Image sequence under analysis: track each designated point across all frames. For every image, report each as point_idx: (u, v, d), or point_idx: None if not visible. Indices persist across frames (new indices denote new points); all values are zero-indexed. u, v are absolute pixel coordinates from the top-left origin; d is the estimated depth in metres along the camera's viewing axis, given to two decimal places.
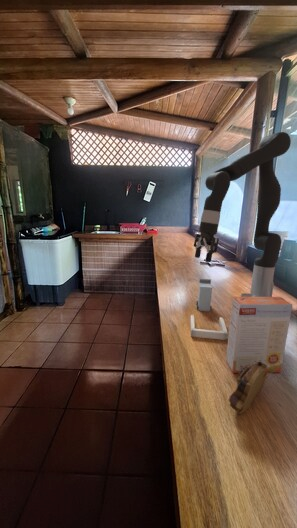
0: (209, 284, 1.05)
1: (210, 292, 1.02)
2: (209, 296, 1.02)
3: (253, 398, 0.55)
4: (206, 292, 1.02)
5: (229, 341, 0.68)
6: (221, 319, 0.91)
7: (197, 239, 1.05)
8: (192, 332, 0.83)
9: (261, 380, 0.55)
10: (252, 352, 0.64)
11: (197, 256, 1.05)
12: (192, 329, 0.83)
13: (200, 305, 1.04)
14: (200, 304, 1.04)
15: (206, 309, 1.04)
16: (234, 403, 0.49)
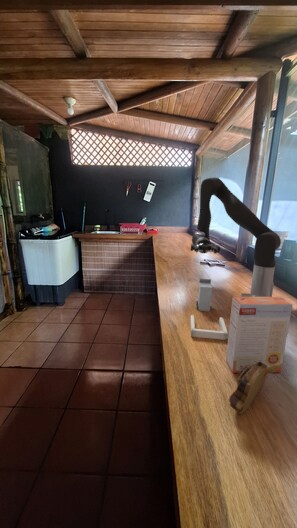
0: (209, 284, 1.05)
1: (210, 292, 1.02)
2: (209, 296, 1.02)
3: (253, 398, 0.55)
4: (206, 292, 1.02)
5: (229, 341, 0.68)
6: (221, 319, 0.91)
7: None
8: (192, 332, 0.83)
9: (261, 380, 0.55)
10: (252, 352, 0.64)
11: (214, 251, 1.12)
12: (192, 329, 0.83)
13: (200, 305, 1.04)
14: (200, 304, 1.04)
15: (206, 309, 1.04)
16: (234, 403, 0.49)
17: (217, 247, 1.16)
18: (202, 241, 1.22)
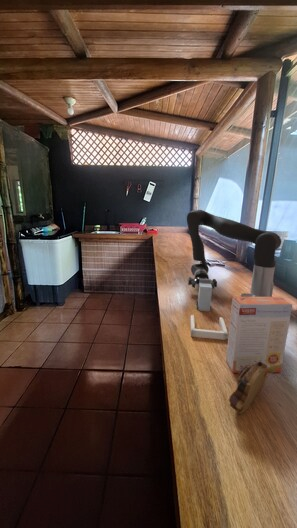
0: (209, 284, 1.05)
1: (210, 292, 1.02)
2: (209, 296, 1.02)
3: (253, 398, 0.55)
4: (206, 292, 1.02)
5: (229, 341, 0.68)
6: (221, 319, 0.91)
7: None
8: (192, 332, 0.83)
9: (261, 380, 0.55)
10: (252, 352, 0.64)
11: None
12: (192, 329, 0.83)
13: (200, 305, 1.04)
14: (200, 304, 1.04)
15: (206, 309, 1.04)
16: (234, 403, 0.49)
17: (214, 282, 1.19)
18: (200, 274, 1.25)
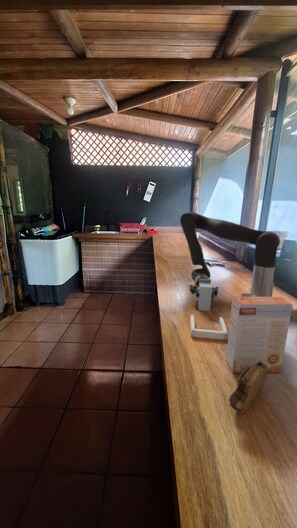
0: (209, 284, 1.05)
1: (210, 292, 1.02)
2: (209, 296, 1.02)
3: (253, 398, 0.55)
4: (206, 292, 1.02)
5: (229, 341, 0.68)
6: (221, 319, 0.91)
7: None
8: (192, 332, 0.83)
9: (261, 380, 0.55)
10: (252, 352, 0.64)
11: None
12: (192, 329, 0.83)
13: (200, 305, 1.04)
14: (200, 304, 1.04)
15: (206, 309, 1.04)
16: (234, 403, 0.49)
17: (214, 290, 1.08)
18: None
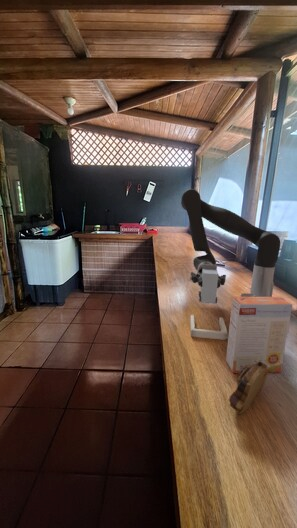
0: (215, 270, 0.85)
1: (216, 280, 0.82)
2: (214, 285, 0.82)
3: (253, 398, 0.55)
4: (211, 280, 0.82)
5: (229, 341, 0.68)
6: (221, 319, 0.91)
7: None
8: (192, 332, 0.83)
9: (261, 380, 0.55)
10: (252, 352, 0.64)
11: None
12: (192, 329, 0.83)
13: (203, 296, 0.84)
14: (203, 295, 0.84)
15: (211, 301, 0.84)
16: (234, 403, 0.49)
17: (221, 278, 0.88)
18: None
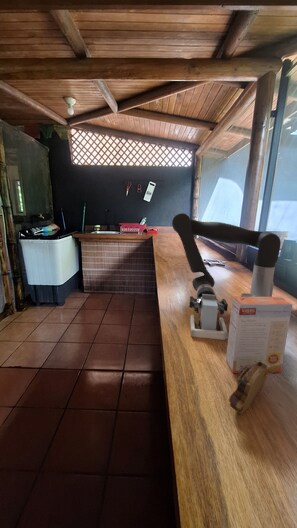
0: (214, 301, 0.86)
1: (215, 312, 0.83)
2: (214, 316, 0.83)
3: (253, 398, 0.55)
4: (211, 312, 0.83)
5: (229, 341, 0.68)
6: (221, 319, 0.91)
7: None
8: (192, 332, 0.83)
9: (261, 380, 0.55)
10: (252, 352, 0.64)
11: (220, 312, 0.85)
12: (192, 329, 0.83)
13: (203, 327, 0.85)
14: (203, 326, 0.85)
15: None
16: (234, 403, 0.49)
17: (224, 304, 0.89)
18: (204, 293, 0.95)
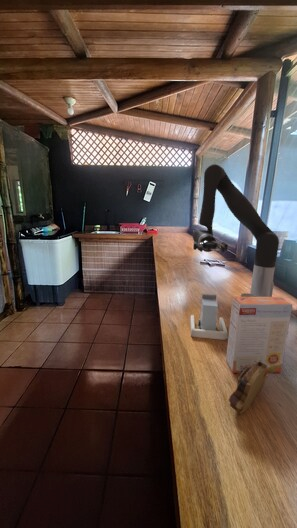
0: (214, 301, 0.86)
1: (215, 312, 0.83)
2: (214, 316, 0.83)
3: (253, 398, 0.55)
4: (211, 312, 0.83)
5: (229, 341, 0.68)
6: (221, 319, 0.91)
7: None
8: (192, 332, 0.83)
9: (261, 380, 0.55)
10: (252, 352, 0.64)
11: (221, 249, 0.96)
12: (192, 329, 0.83)
13: (203, 327, 0.85)
14: (203, 326, 0.85)
15: None
16: (234, 403, 0.49)
17: (224, 244, 1.00)
18: (206, 238, 1.06)
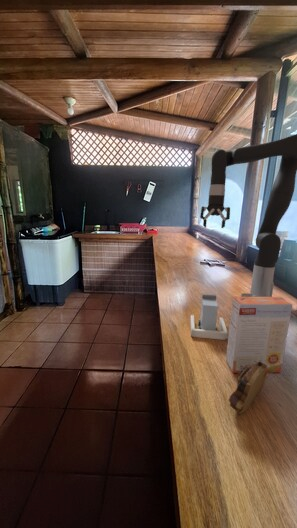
0: (214, 301, 0.86)
1: (215, 312, 0.83)
2: (214, 316, 0.83)
3: (253, 398, 0.55)
4: (211, 312, 0.83)
5: (229, 341, 0.68)
6: (221, 319, 0.91)
7: None
8: (192, 332, 0.83)
9: (261, 380, 0.55)
10: (252, 352, 0.64)
11: (221, 226, 1.20)
12: (192, 329, 0.83)
13: (203, 327, 0.85)
14: (203, 326, 0.85)
15: None
16: (234, 403, 0.49)
17: (227, 216, 1.17)
18: (214, 204, 1.15)
